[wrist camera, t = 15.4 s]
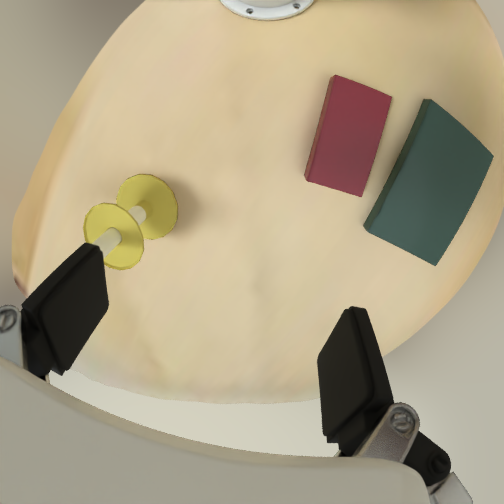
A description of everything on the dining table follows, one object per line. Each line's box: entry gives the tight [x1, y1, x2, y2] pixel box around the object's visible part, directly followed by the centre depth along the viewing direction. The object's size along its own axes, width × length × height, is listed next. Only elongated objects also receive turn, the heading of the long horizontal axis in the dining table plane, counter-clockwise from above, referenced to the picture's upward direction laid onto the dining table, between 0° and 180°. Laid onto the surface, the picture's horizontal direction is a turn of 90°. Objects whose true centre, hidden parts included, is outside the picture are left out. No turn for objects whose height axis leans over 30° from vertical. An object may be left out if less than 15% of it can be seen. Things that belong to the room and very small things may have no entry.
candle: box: [83, 174, 178, 270], centre depth 25 cm, size 10×10×27 cm
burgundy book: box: [304, 75, 392, 197], centre depth 28 cm, size 13×7×3 cm, turn 168°
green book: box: [363, 99, 494, 266], centre depth 30 cm, size 20×14×2 cm
